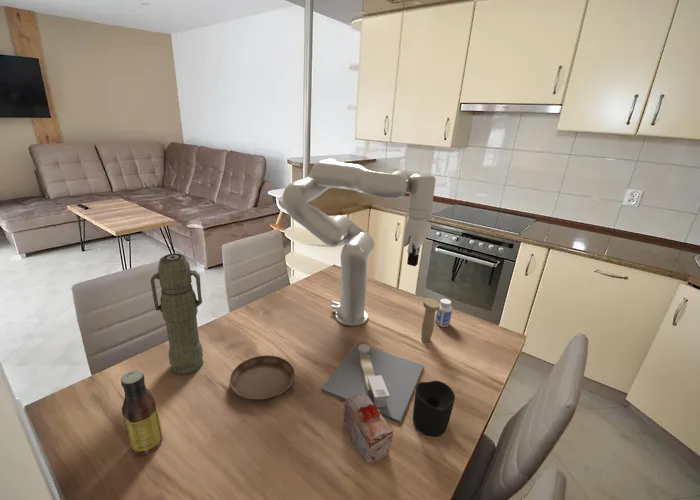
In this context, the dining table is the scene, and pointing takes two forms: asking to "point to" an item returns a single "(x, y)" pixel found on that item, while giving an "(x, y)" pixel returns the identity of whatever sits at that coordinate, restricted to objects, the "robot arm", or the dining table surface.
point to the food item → (367, 428)
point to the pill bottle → (444, 313)
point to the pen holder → (432, 407)
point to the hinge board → (381, 366)
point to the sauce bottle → (140, 414)
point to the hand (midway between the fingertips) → (412, 264)
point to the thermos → (179, 312)
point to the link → (366, 371)
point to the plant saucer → (262, 378)
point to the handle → (429, 318)
